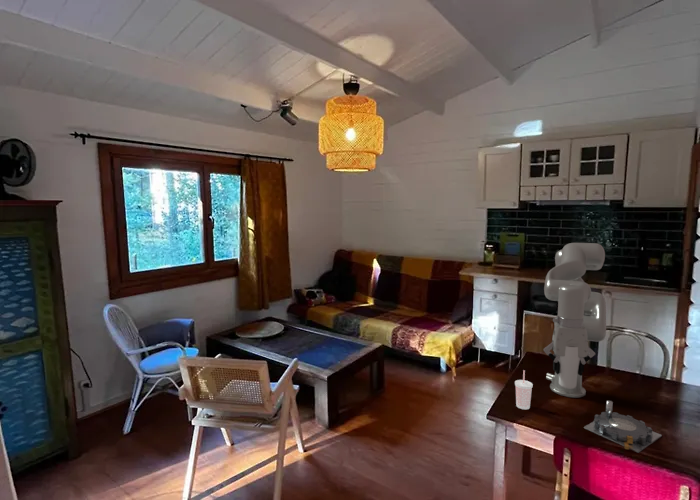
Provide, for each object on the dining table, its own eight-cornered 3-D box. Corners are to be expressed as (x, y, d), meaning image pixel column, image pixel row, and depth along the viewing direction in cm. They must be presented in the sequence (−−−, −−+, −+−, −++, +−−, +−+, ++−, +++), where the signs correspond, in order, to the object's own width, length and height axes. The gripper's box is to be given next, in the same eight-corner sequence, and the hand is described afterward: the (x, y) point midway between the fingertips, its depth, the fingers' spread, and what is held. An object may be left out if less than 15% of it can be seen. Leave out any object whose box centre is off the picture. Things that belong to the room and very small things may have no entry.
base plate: (580, 429, 131) (580, 425, 130) (608, 414, 140) (608, 410, 140) (635, 455, 117) (635, 450, 117) (661, 436, 126) (662, 432, 126)
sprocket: (621, 447, 120) (623, 425, 119) (582, 420, 135) (583, 400, 135) (665, 441, 123) (667, 419, 122) (622, 415, 138) (623, 396, 137)
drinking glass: (552, 382, 137) (553, 340, 135) (570, 380, 137) (572, 339, 136) (564, 391, 130) (566, 347, 128) (583, 389, 131) (585, 346, 129)
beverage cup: (513, 408, 145) (514, 371, 144) (515, 401, 151) (516, 365, 149) (531, 412, 142) (532, 375, 141) (532, 404, 148) (533, 368, 146)
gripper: (544, 324, 130) (542, 376, 132) (603, 326, 126) (600, 380, 128) (539, 317, 137) (537, 366, 139) (594, 319, 133) (592, 370, 135)
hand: (567, 372), depth 133 cm, fingers closed on drinking glass, 6 cm apart
